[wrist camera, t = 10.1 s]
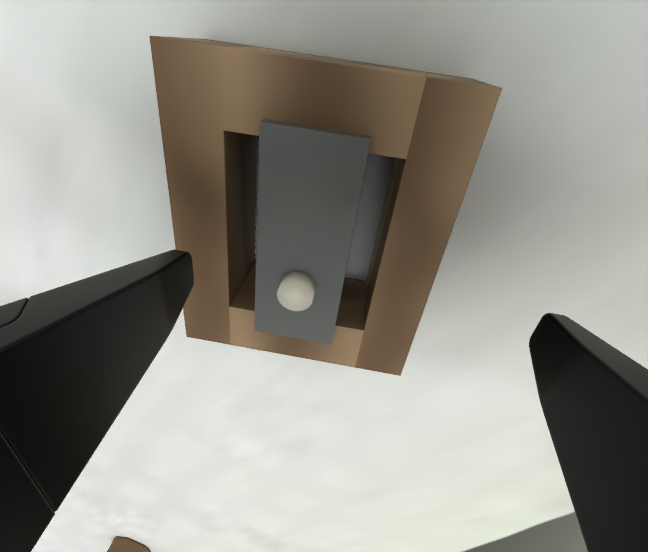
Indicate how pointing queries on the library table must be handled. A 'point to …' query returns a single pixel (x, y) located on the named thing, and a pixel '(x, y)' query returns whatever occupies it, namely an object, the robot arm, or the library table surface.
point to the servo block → (305, 226)
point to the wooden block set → (126, 545)
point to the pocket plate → (324, 112)
